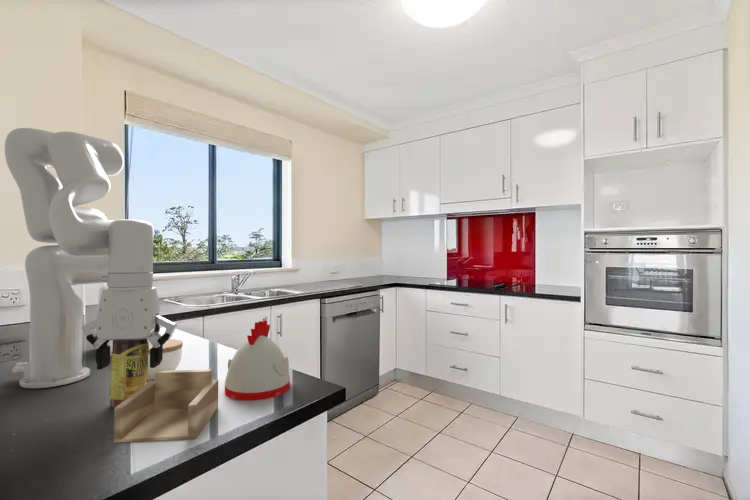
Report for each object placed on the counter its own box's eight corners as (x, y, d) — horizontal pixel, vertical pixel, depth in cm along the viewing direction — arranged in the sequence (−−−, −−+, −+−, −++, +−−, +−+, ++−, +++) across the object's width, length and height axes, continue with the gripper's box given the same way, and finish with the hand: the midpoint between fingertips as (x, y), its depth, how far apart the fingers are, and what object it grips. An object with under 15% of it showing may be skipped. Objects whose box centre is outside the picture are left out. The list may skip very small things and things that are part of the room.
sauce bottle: (128, 411, 70) (130, 307, 71) (101, 408, 72) (102, 305, 72) (155, 398, 77) (156, 302, 77) (129, 395, 78) (131, 301, 78)
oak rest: (113, 442, 59) (114, 395, 59) (150, 410, 71) (151, 371, 71) (195, 438, 61) (196, 392, 61) (217, 407, 73) (218, 369, 73)
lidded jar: (190, 369, 96) (191, 332, 96) (166, 383, 85) (166, 343, 86) (149, 368, 96) (150, 332, 96) (120, 382, 86) (121, 342, 86)
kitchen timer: (299, 381, 88) (300, 318, 88) (271, 403, 75) (271, 329, 75) (247, 376, 91) (248, 315, 92) (210, 397, 78) (211, 325, 78)
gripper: (71, 283, 70) (69, 374, 70) (168, 283, 72) (167, 371, 72) (96, 280, 77) (94, 362, 77) (183, 280, 79) (182, 360, 79)
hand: (129, 366), depth 74 cm, fingers open, 9 cm apart
